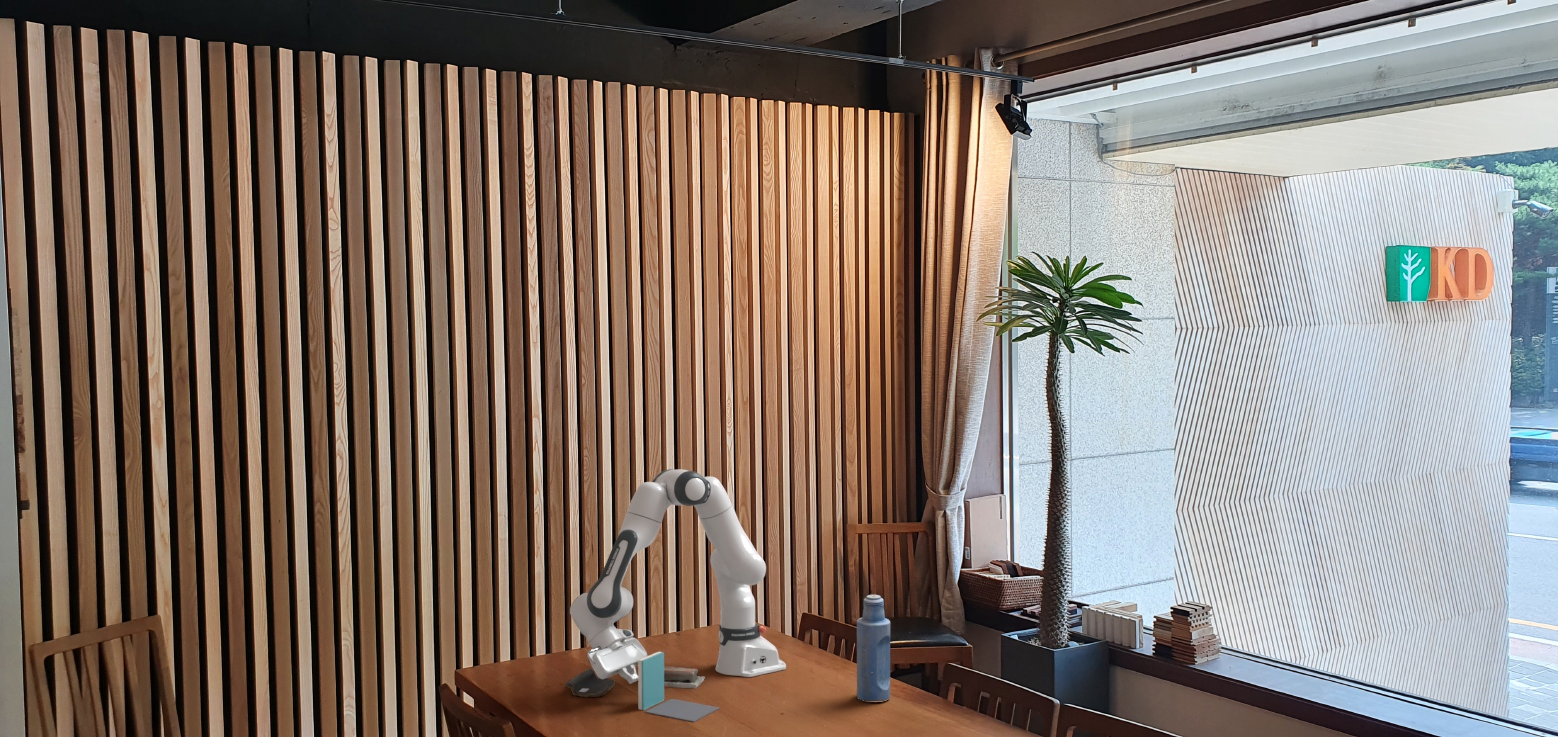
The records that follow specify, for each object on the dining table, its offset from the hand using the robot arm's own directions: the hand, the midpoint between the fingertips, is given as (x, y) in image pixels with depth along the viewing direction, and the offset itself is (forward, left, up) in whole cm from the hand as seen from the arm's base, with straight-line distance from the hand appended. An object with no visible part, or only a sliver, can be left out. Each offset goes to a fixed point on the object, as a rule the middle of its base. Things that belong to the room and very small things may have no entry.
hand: (634, 681), depth 316 cm
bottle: (-63, +28, -6) cm, 69 cm away
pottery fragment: (+8, -16, -6) cm, 19 cm away
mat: (-10, +14, -6) cm, 18 cm away
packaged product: (-16, -13, -7) cm, 22 cm away
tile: (-3, +5, -6) cm, 8 cm away
